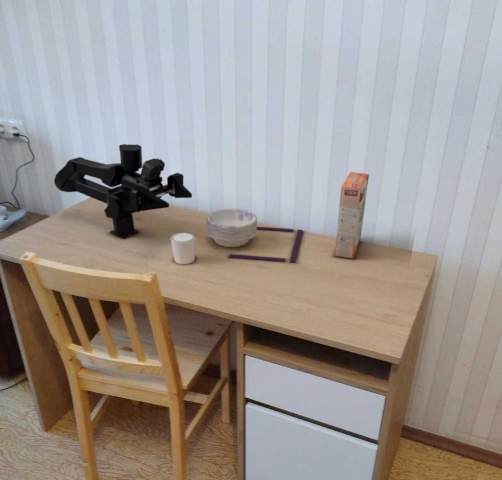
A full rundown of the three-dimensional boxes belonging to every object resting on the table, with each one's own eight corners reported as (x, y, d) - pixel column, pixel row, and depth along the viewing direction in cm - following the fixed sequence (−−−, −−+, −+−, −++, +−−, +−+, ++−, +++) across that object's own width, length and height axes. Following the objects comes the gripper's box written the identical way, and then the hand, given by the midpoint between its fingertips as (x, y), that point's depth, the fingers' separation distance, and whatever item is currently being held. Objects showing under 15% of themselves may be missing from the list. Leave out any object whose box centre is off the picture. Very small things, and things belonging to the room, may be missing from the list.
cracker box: (354, 259, 151) (362, 188, 140) (333, 256, 153) (339, 186, 142) (362, 240, 162) (370, 172, 151) (342, 237, 164) (348, 170, 153)
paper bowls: (264, 235, 165) (265, 211, 161) (243, 255, 154) (243, 230, 149) (221, 227, 171) (220, 204, 167) (197, 246, 159) (196, 221, 155)
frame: (228, 257, 152) (228, 256, 152) (243, 226, 171) (243, 225, 171) (295, 262, 150) (295, 261, 149) (302, 231, 168) (302, 229, 168)
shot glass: (172, 254, 154) (171, 232, 150) (196, 253, 155) (195, 231, 151) (171, 265, 148) (169, 242, 145) (196, 264, 149) (195, 241, 145)
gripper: (113, 165, 142) (155, 181, 135) (162, 149, 155) (203, 163, 148) (115, 203, 149) (156, 221, 142) (163, 185, 161) (202, 201, 154)
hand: (180, 200), depth 146 cm, fingers open, 9 cm apart
